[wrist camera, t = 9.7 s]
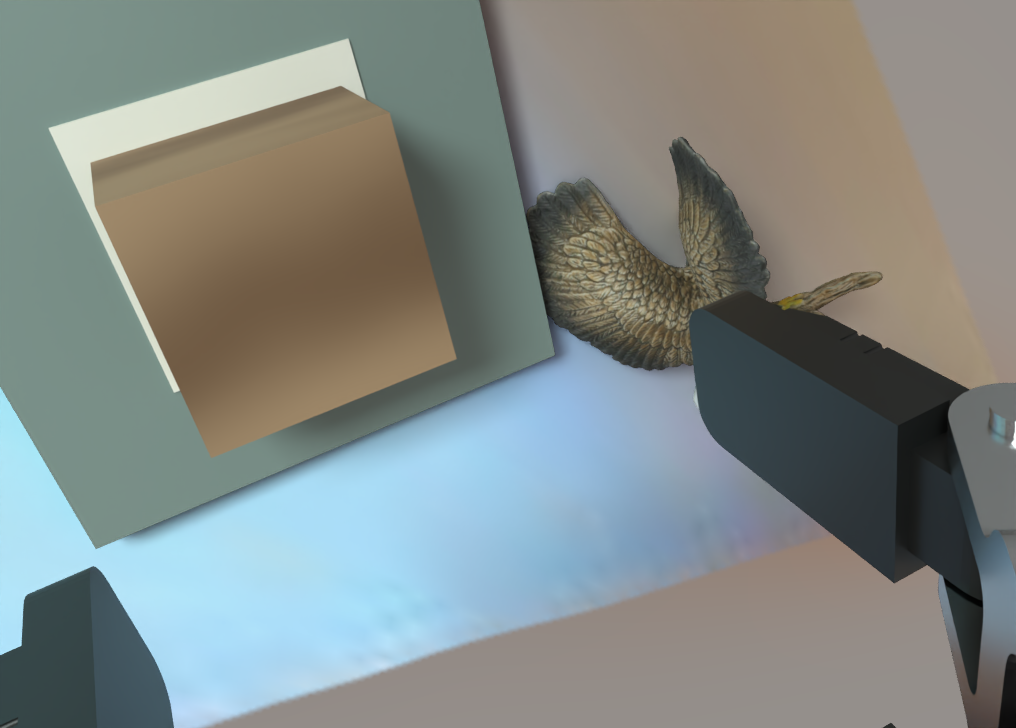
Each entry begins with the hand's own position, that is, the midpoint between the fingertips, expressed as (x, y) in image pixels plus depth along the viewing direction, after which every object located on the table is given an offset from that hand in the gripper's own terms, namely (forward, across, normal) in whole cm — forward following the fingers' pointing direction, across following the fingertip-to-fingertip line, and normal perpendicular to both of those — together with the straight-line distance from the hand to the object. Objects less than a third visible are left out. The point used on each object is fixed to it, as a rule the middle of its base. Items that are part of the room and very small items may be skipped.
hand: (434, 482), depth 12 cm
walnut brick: (+13, 0, +1) cm, 13 cm away
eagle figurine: (+15, -11, +6) cm, 20 cm away
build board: (+14, 0, 0) cm, 14 cm away
